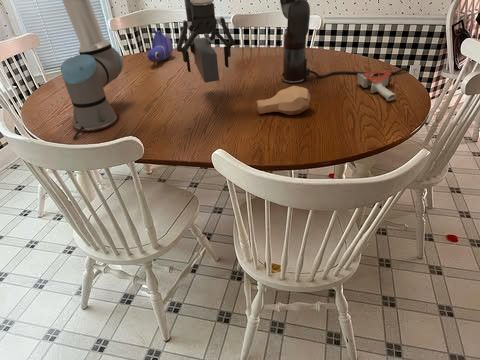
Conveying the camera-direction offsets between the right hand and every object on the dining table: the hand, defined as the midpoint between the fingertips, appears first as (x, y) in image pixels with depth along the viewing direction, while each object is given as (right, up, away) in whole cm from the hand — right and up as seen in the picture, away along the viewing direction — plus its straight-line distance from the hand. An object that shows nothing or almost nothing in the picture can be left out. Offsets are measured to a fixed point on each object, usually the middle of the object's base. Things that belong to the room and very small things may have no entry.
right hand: (201, 52), depth 139 cm
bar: (+2, -8, -3) cm, 9 cm away
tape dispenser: (+70, -14, +4) cm, 72 cm away
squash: (+31, -25, -7) cm, 41 cm away
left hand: (+4, -10, -13) cm, 17 cm away
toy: (-27, +13, +49) cm, 58 cm away
